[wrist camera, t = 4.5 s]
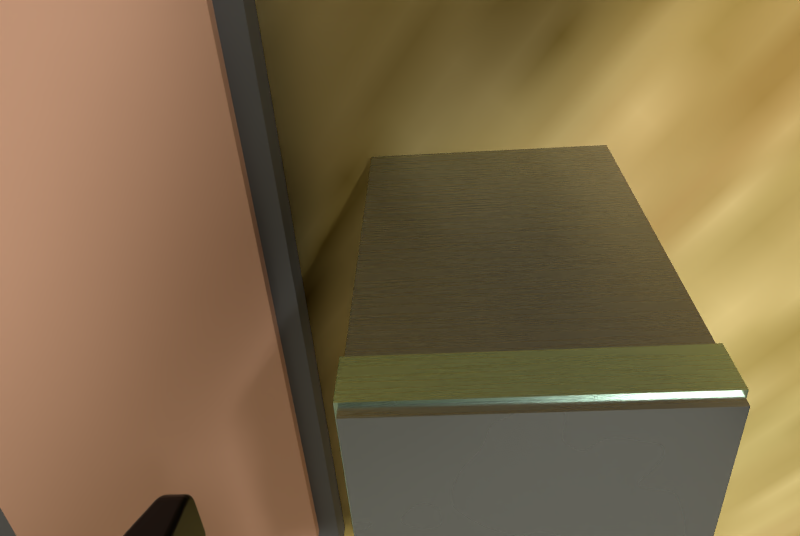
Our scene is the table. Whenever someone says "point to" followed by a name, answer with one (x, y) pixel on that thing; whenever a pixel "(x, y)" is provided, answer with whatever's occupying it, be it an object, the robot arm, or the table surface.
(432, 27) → the table surface
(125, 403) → the sorting board
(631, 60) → the table surface
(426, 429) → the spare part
